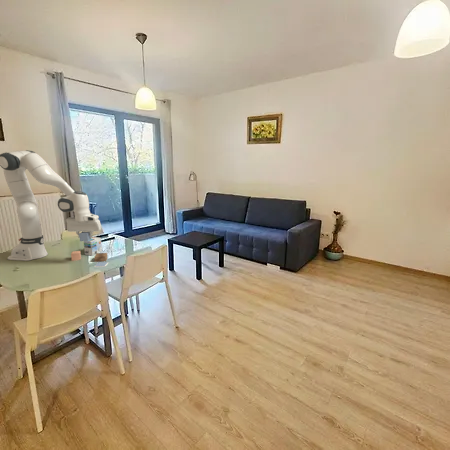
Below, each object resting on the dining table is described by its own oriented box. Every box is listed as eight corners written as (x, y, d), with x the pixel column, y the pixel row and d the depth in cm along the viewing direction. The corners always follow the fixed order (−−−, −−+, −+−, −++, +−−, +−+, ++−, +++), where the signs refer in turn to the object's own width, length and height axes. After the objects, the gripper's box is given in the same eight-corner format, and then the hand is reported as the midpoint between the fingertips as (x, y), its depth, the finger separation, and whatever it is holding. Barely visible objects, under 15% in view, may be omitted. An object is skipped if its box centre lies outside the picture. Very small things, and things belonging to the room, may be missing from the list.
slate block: (80, 241, 163) (79, 233, 162) (83, 238, 168) (82, 231, 167) (88, 241, 164) (87, 233, 162) (91, 238, 169) (90, 231, 167)
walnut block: (94, 262, 172) (94, 256, 171) (96, 258, 178) (96, 253, 177) (105, 261, 174) (105, 256, 173) (107, 258, 180) (107, 252, 179)
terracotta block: (71, 260, 172) (71, 254, 171) (73, 258, 177) (72, 251, 176) (80, 260, 174) (79, 253, 173) (81, 257, 179) (80, 250, 177)
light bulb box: (92, 255, 182) (91, 241, 180) (84, 254, 183) (83, 240, 181) (102, 251, 192) (101, 237, 190) (94, 250, 194) (93, 236, 191)
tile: (94, 267, 164) (94, 266, 164) (97, 262, 170) (97, 262, 170) (105, 266, 165) (105, 265, 165) (108, 262, 171) (108, 261, 171)
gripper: (63, 218, 158) (66, 239, 161) (97, 218, 160) (99, 238, 164) (68, 216, 164) (71, 236, 167) (101, 215, 166) (103, 236, 170)
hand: (85, 237), depth 165 cm, fingers closed on slate block, 5 cm apart
